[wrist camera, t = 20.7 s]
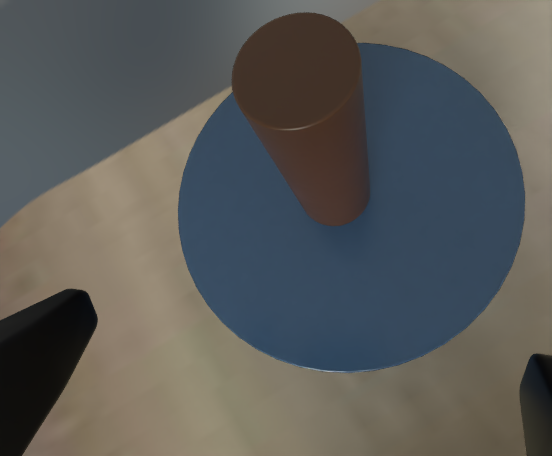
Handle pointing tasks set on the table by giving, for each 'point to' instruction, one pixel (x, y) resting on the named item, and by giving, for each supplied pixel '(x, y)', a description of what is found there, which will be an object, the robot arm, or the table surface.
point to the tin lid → (348, 200)
